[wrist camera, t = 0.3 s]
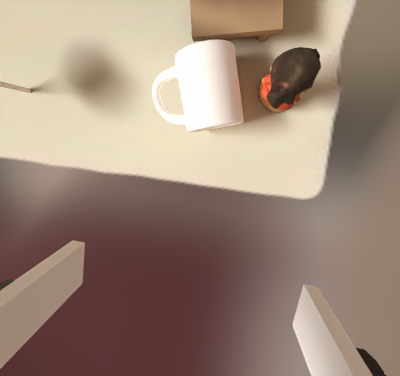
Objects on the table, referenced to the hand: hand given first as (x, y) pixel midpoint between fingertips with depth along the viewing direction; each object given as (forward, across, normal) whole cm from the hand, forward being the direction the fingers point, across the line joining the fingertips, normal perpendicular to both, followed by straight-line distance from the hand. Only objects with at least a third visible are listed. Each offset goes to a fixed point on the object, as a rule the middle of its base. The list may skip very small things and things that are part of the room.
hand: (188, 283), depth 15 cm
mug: (+27, -4, +14) cm, 31 cm away
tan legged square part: (+27, -1, +26) cm, 38 cm away
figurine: (+27, +7, +16) cm, 32 cm away
